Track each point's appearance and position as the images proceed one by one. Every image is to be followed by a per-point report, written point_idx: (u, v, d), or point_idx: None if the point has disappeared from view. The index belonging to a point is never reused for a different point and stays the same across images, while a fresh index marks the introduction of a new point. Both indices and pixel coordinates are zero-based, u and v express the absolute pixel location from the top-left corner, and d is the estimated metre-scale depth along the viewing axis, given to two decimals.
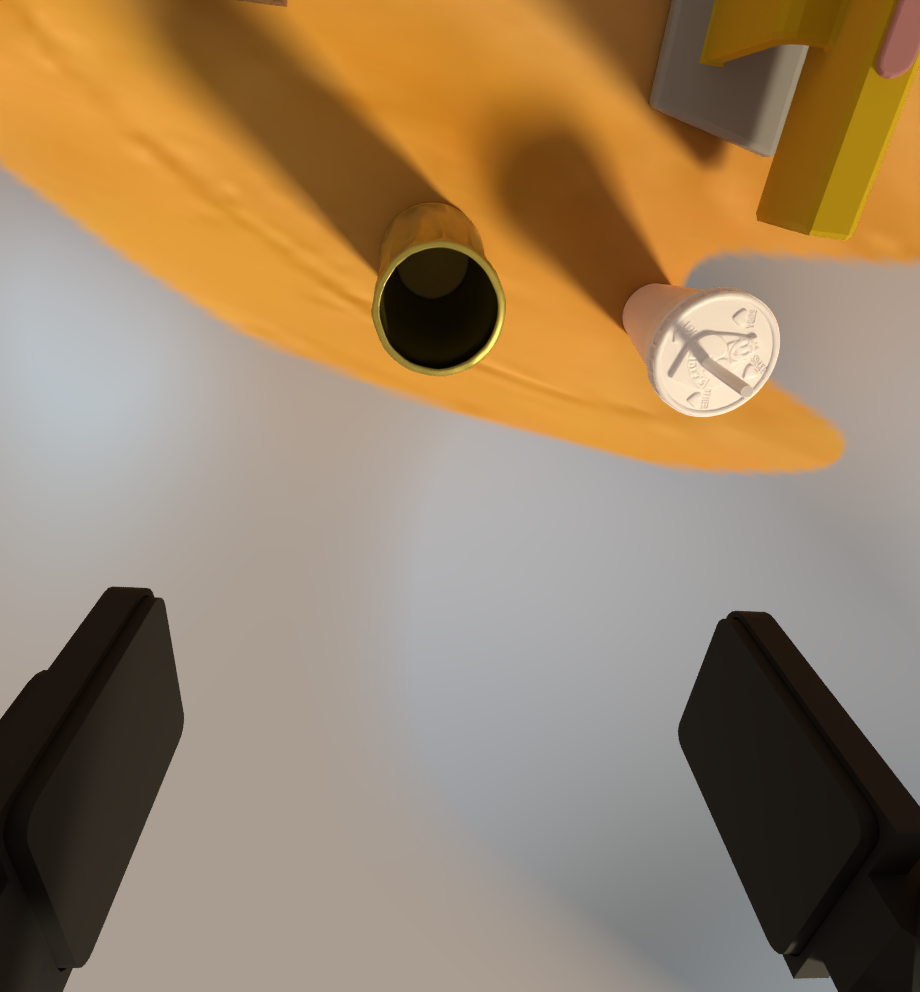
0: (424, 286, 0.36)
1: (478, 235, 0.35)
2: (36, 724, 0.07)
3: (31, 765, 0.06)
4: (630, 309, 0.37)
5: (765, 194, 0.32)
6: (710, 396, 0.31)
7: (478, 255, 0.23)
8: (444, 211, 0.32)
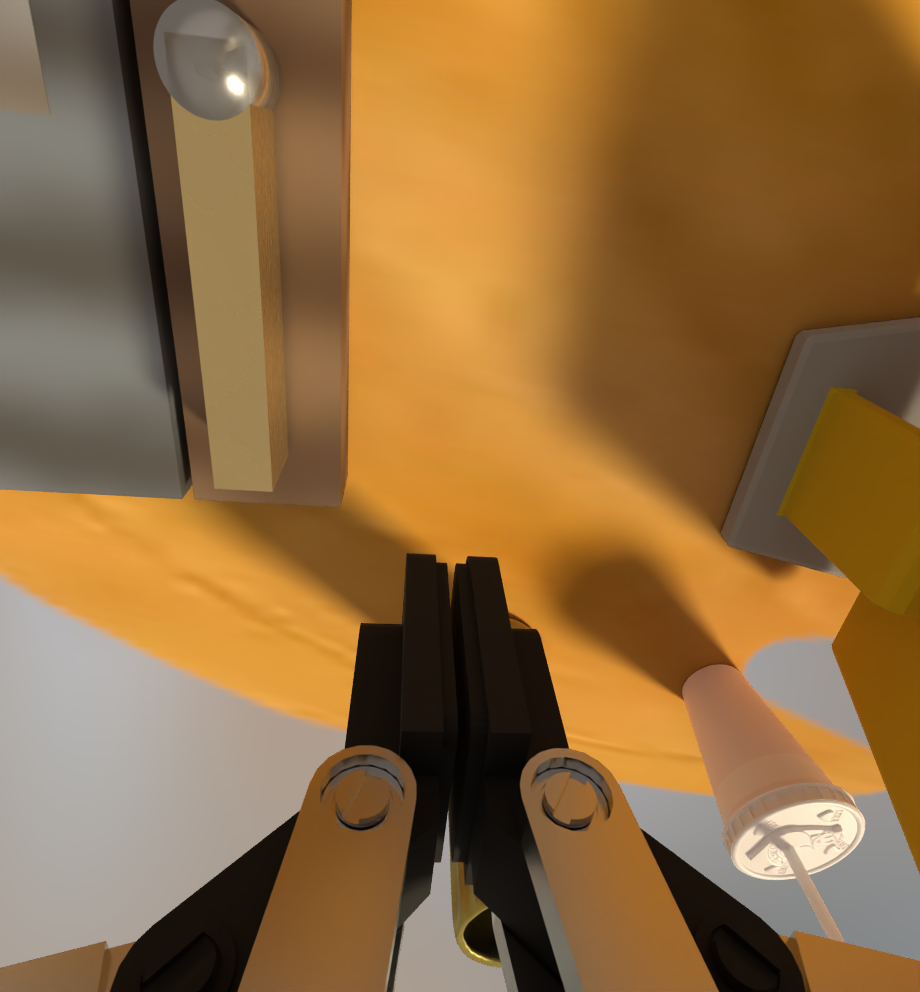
0: None
1: None
2: (425, 656, 0.08)
3: (441, 686, 0.08)
4: (693, 701, 0.35)
5: (844, 644, 0.30)
6: (788, 866, 0.30)
7: None
8: None
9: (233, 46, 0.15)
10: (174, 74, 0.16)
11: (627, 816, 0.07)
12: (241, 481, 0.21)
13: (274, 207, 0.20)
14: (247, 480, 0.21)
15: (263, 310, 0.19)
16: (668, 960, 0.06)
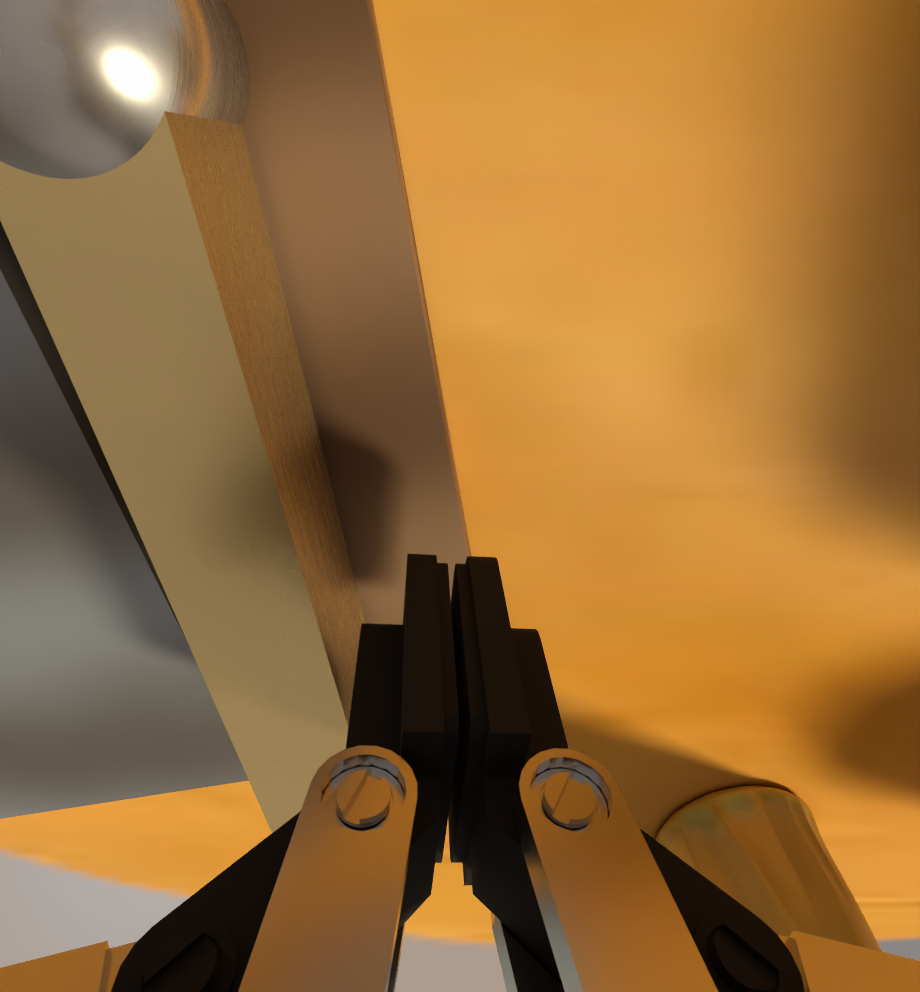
0: None
1: (807, 811, 0.22)
2: (426, 657, 0.08)
3: (443, 686, 0.08)
4: None
5: None
6: None
7: None
8: (783, 861, 0.20)
9: None
10: None
11: (626, 816, 0.07)
12: None
13: (282, 321, 0.09)
14: None
15: (300, 549, 0.09)
16: (667, 959, 0.06)
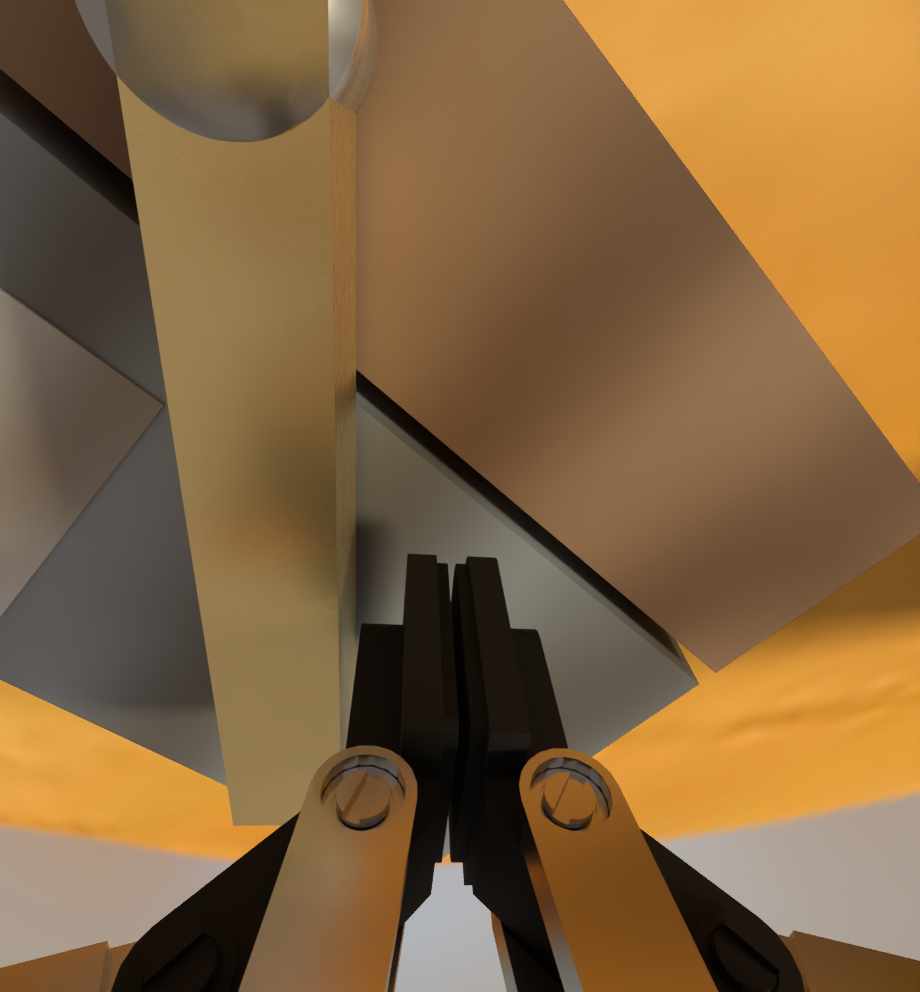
0: None
1: None
2: (426, 657, 0.08)
3: (443, 686, 0.08)
4: None
5: None
6: None
7: None
8: None
9: None
10: (124, 16, 0.06)
11: (626, 816, 0.07)
12: (284, 812, 0.11)
13: (353, 313, 0.09)
14: (295, 810, 0.11)
15: (338, 544, 0.09)
16: (667, 960, 0.06)
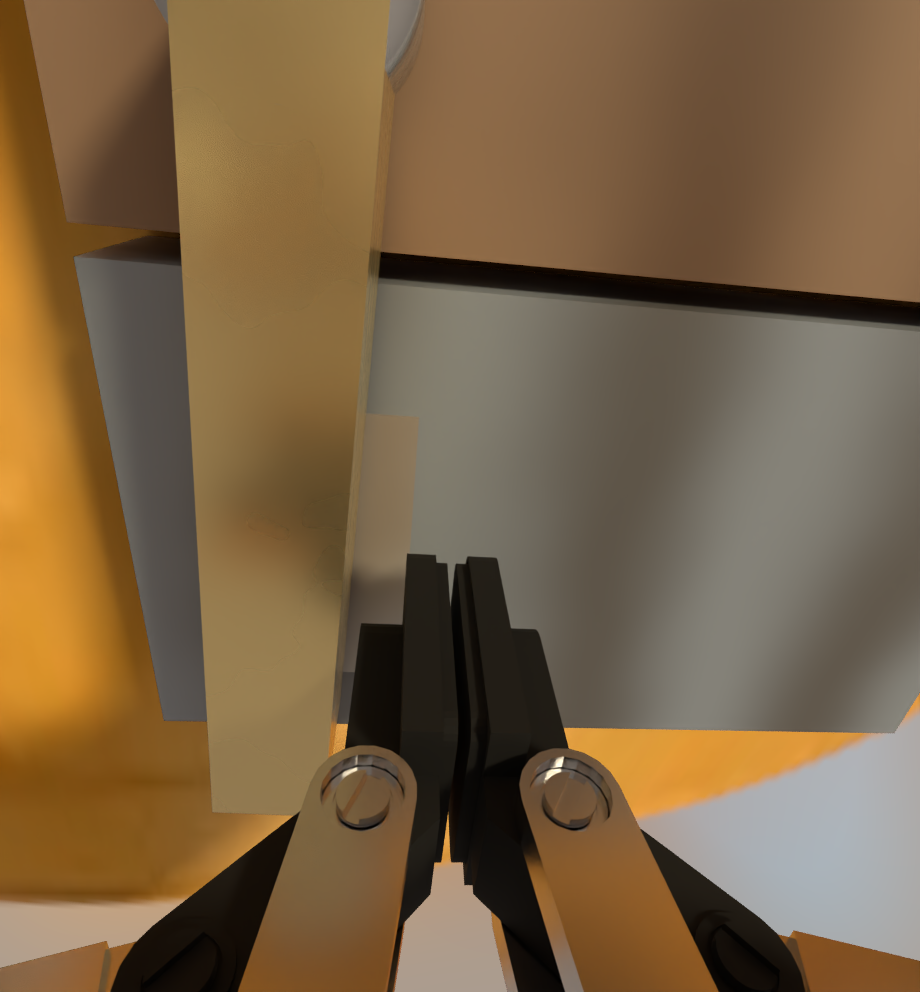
0: None
1: None
2: (426, 657, 0.08)
3: (442, 686, 0.08)
4: None
5: None
6: None
7: None
8: None
9: None
10: None
11: (627, 816, 0.07)
12: (265, 801, 0.11)
13: (375, 296, 0.09)
14: (277, 800, 0.11)
15: (347, 527, 0.09)
16: (667, 959, 0.06)
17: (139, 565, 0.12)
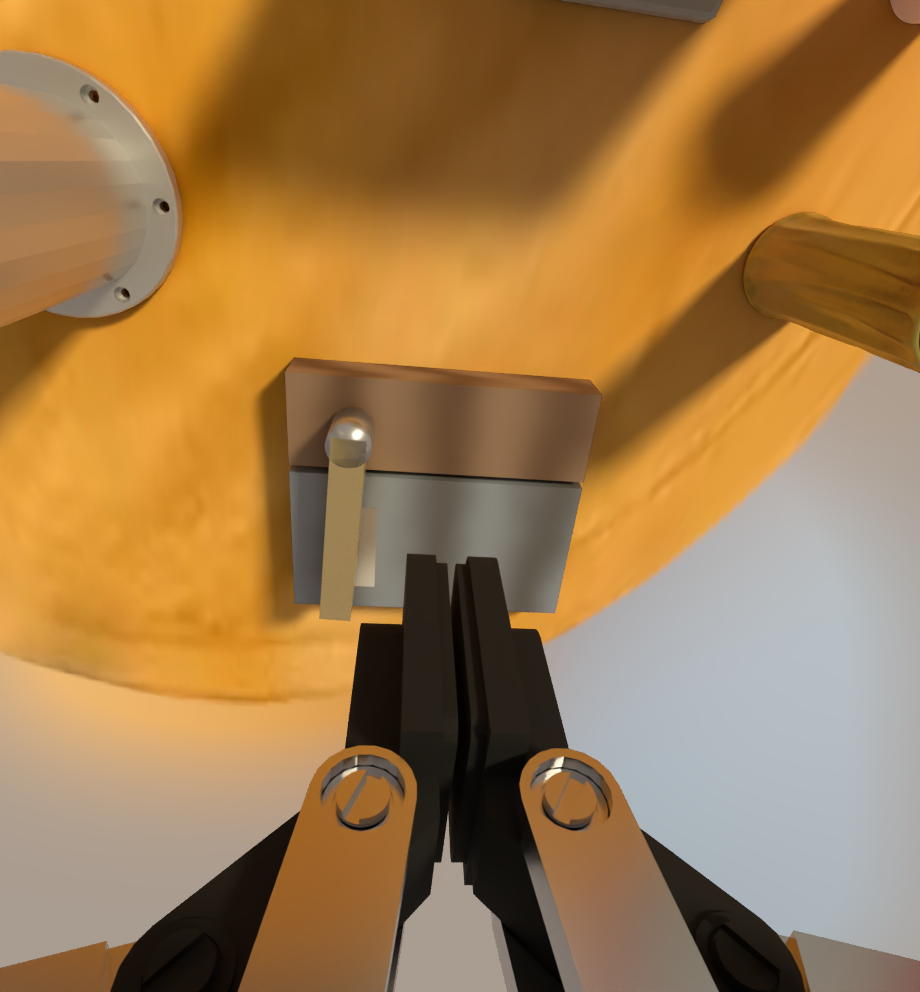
0: None
1: (786, 219, 0.35)
2: (426, 656, 0.08)
3: (441, 686, 0.08)
4: None
5: None
6: None
7: None
8: (772, 262, 0.34)
9: (360, 443, 0.34)
10: (332, 451, 0.34)
11: (627, 816, 0.07)
12: (334, 615, 0.40)
13: (364, 483, 0.38)
14: (337, 615, 0.40)
15: (357, 540, 0.38)
16: (667, 959, 0.06)
17: (294, 550, 0.41)
